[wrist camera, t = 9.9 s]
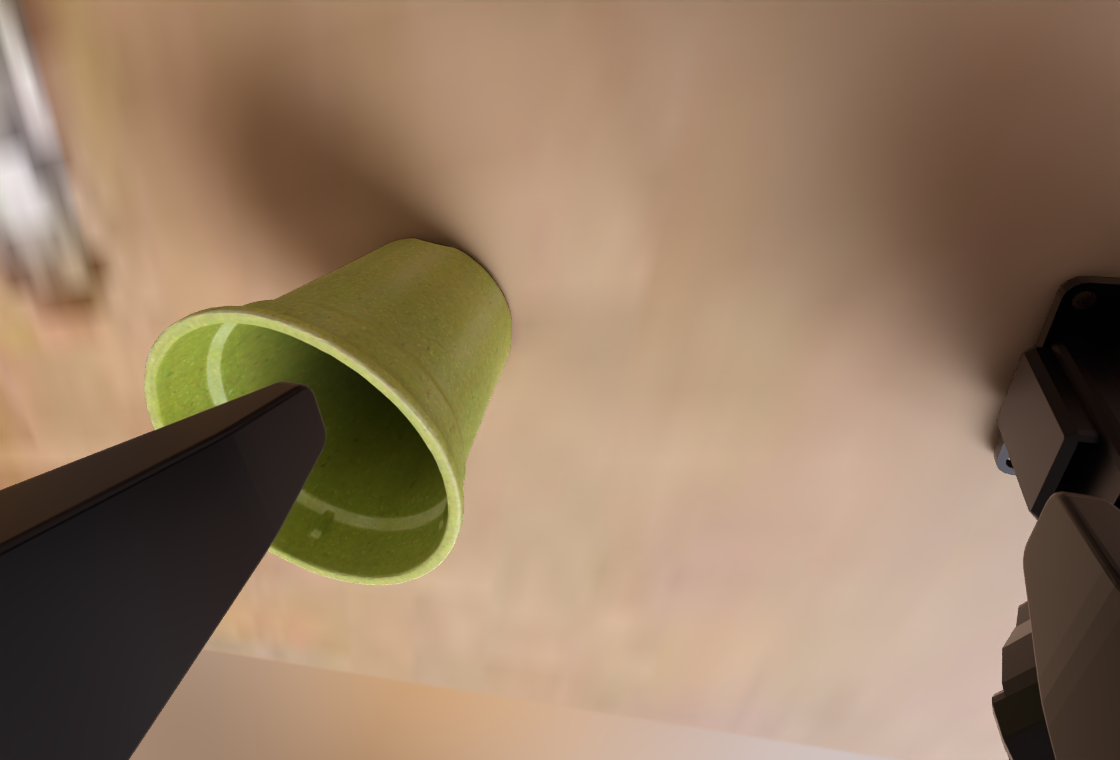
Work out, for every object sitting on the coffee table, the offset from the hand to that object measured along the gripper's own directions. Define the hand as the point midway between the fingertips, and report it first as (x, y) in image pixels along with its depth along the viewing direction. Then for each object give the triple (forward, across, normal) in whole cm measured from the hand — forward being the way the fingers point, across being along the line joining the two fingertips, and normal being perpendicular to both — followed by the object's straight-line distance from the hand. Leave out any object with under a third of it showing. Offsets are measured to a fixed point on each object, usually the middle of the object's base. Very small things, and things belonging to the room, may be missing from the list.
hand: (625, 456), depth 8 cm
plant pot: (+13, +10, +6) cm, 18 cm away
